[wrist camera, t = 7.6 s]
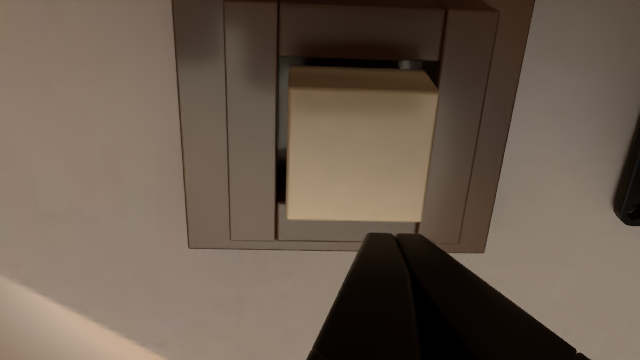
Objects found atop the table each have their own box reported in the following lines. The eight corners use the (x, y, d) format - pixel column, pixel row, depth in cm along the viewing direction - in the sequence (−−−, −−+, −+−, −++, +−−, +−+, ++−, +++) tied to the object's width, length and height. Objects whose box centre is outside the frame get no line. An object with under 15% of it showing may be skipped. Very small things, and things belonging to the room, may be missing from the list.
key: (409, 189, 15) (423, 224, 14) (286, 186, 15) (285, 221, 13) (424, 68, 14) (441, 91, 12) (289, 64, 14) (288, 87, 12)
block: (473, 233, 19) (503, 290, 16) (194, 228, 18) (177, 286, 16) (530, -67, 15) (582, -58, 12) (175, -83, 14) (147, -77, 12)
